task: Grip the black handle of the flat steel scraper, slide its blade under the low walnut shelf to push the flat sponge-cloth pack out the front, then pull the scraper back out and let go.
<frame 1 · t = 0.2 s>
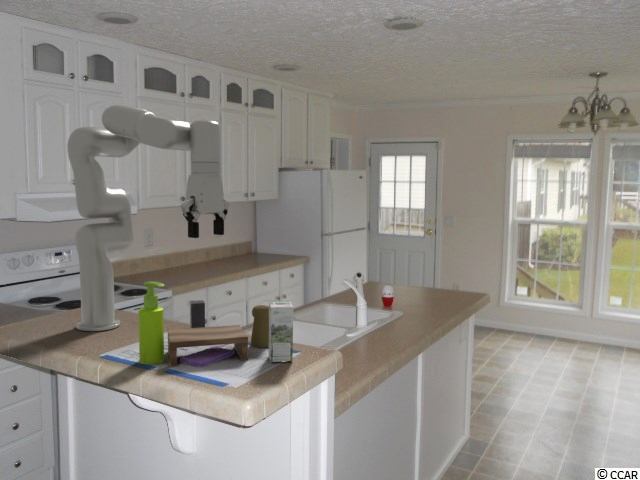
hand: (206, 236, 148), 31 cm above the countertop, tool pointing down, fingers open, 9 cm apart
soap dispenser: (153, 361, 142), on the countertop
sponges: (208, 361, 145), on the countertop
low shelf: (207, 355, 147), on the countertop
cork: (261, 345, 157), on the countertop
syrup box: (280, 360, 144), on the countertop
scraper: (197, 331, 170), on the countertop
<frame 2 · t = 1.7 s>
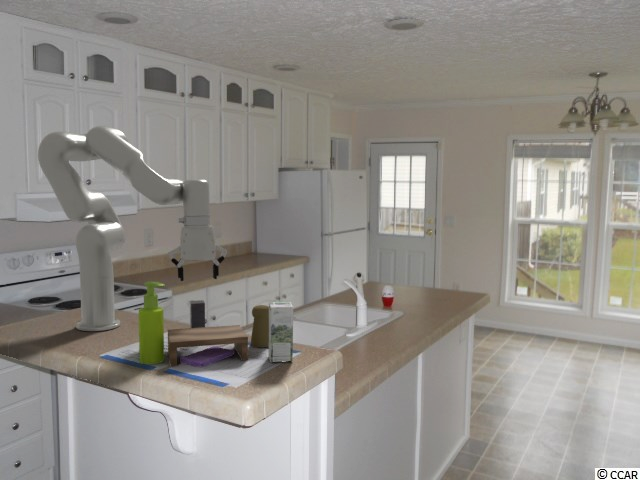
hand: (198, 279, 168), 16 cm above the countertop, tool pointing down, fingers open, 9 cm apart
nothing on the countertop moved.
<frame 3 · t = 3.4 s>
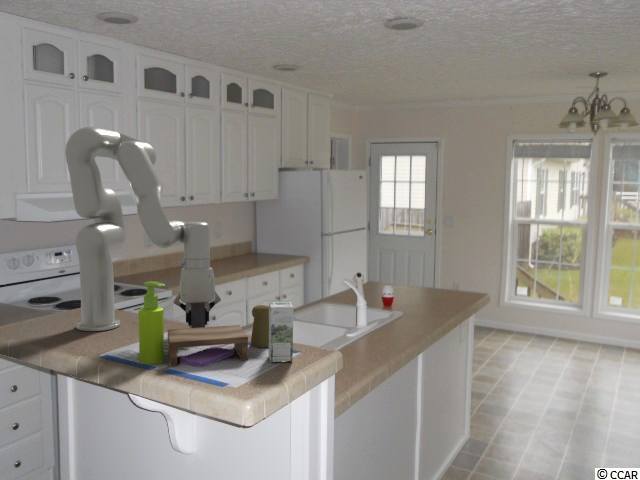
hand: (197, 323, 170), 2 cm above the countertop, tool pointing down, fingers closed on scraper, 4 cm apart
scraper: (197, 331, 170), on the countertop, touching gripper
everything else where it was.
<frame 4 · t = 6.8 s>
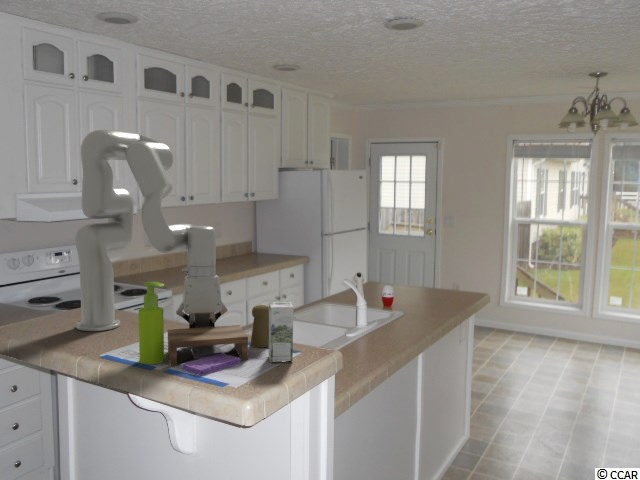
hand: (202, 335, 157), 2 cm above the countertop, tool pointing down, fingers closed on scraper, 4 cm apart
sponges: (211, 368, 139), on the countertop
scraper: (201, 343, 158), on the countertop, touching gripper
everything else where it was.
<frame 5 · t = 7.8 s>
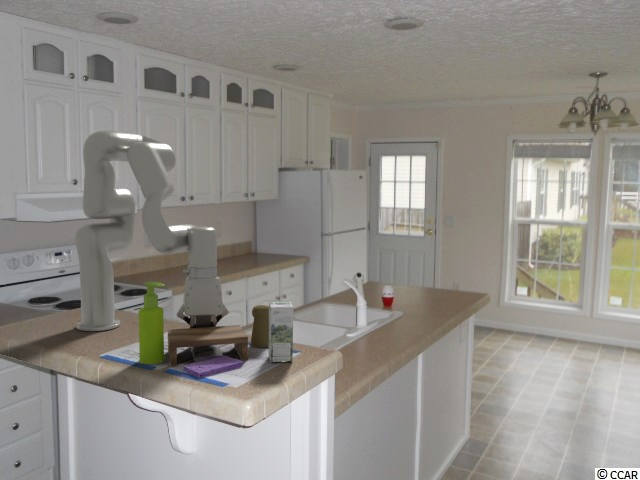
hand: (203, 338, 155), 2 cm above the countertop, tool pointing down, fingers closed on scraper, 4 cm apart
sponges: (213, 371, 137), on the countertop
scraper: (202, 345, 155), on the countertop, touching gripper
everything else where it was.
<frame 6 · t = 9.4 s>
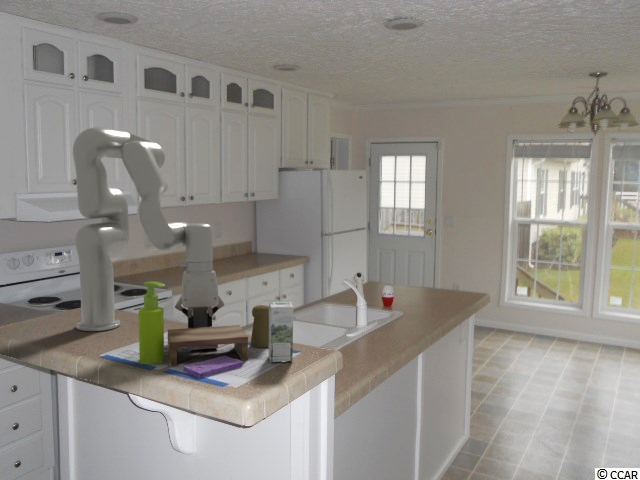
hand: (200, 329, 164), 2 cm above the countertop, tool pointing down, fingers closed on scraper, 4 cm apart
scraper: (200, 336, 164), on the countertop, touching gripper
everything else where it was.
when the fingers open (2 cm above the countertop, at t = 10.4 s): scraper stays where it is, on the countertop.
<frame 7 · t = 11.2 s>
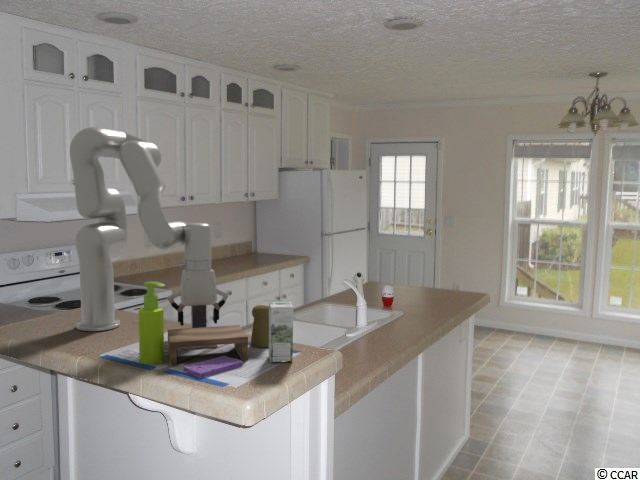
hand: (198, 323, 166), 3 cm above the countertop, tool pointing down, fingers open, 9 cm apart
scraper: (198, 334, 167), on the countertop
everything else where it was.
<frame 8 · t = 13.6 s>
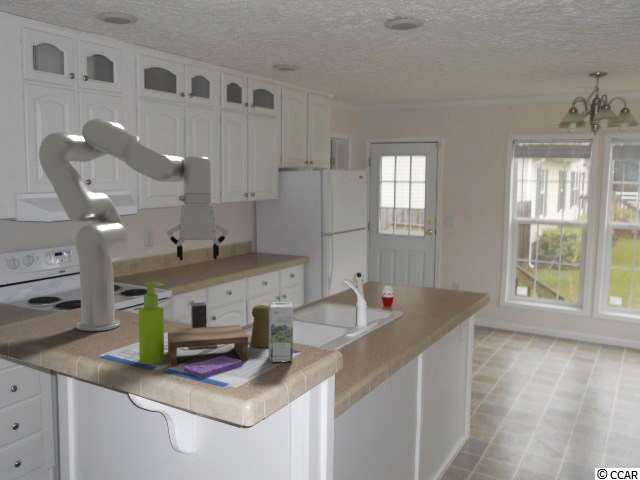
hand: (198, 259, 164), 22 cm above the countertop, tool pointing down, fingers open, 9 cm apart
nothing on the countertop moved.
at the end: sponges inside the target area (6.8 cm from its centre), on the countertop; sponges moved 8.3 cm from its start; the gripper is holding nothing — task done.
